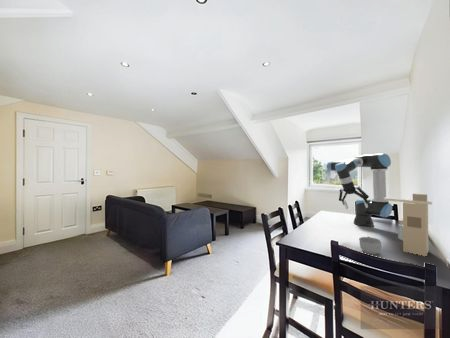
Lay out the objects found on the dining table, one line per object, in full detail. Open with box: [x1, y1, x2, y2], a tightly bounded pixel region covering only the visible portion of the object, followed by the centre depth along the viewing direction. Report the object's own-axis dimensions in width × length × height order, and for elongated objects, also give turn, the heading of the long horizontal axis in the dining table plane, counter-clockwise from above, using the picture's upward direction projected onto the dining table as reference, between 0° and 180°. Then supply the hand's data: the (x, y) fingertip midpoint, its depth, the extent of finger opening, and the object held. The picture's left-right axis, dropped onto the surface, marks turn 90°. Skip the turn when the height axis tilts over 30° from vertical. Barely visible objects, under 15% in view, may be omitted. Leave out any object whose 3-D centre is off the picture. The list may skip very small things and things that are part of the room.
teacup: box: [359, 236, 382, 256], centre depth 121 cm, size 14×11×8 cm
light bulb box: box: [397, 223, 403, 242], centre depth 139 cm, size 11×7×11 cm, turn 168°
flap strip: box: [384, 193, 433, 205], centre depth 125 cm, size 4×22×6 cm, turn 40°
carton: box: [402, 202, 429, 257], centre depth 121 cm, size 12×10×30 cm
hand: (356, 207), depth 151 cm, fingers open, 13 cm apart
